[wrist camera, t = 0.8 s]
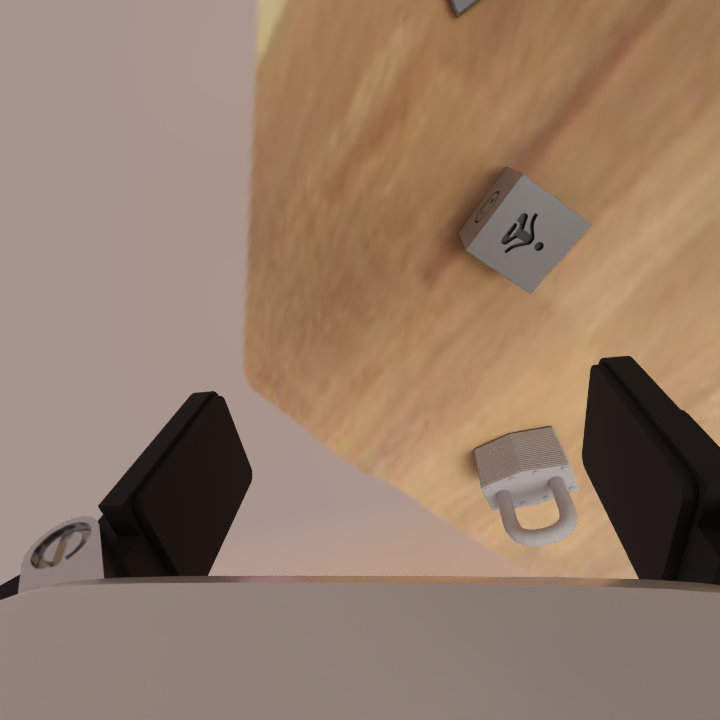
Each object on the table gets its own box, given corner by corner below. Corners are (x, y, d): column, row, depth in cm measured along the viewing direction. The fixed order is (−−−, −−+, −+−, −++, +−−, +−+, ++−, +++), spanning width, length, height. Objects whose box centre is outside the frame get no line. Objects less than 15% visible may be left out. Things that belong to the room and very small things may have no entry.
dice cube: (506, 166, 27) (523, 174, 23) (564, 209, 28) (592, 224, 24) (458, 232, 30) (465, 250, 25) (513, 270, 31) (530, 293, 26)
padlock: (550, 420, 36) (593, 512, 28) (562, 453, 38) (607, 550, 29) (471, 443, 39) (487, 536, 30) (485, 474, 40) (505, 570, 31)
